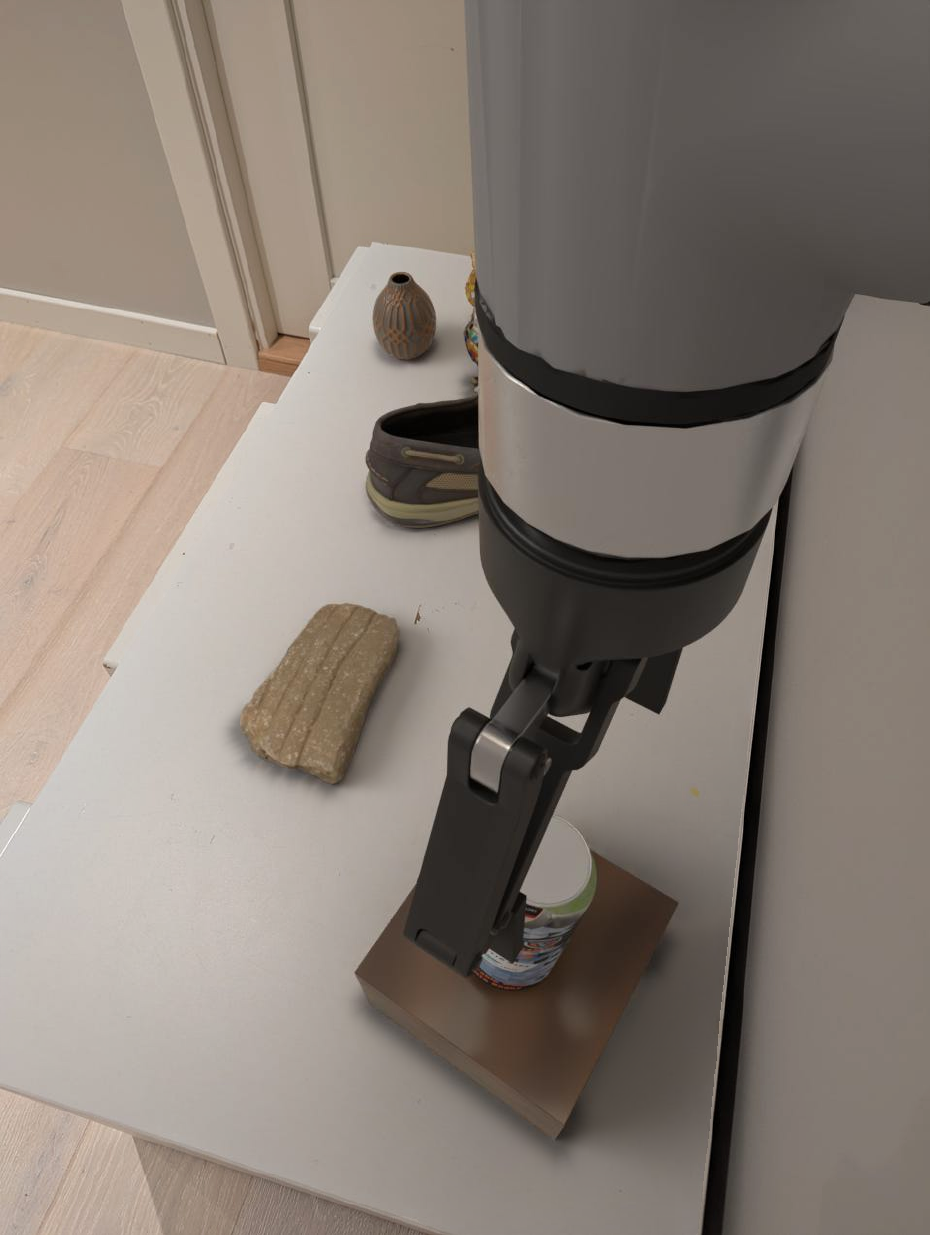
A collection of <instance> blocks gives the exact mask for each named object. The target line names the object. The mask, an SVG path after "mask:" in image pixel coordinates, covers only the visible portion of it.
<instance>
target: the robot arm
mask: <svg viewBox="0 0 930 1235" xmlns="http://www.w3.org/2000/svg"><path fill="white" fill-rule="evenodd" d="M463 3H464V4H463V6H464V27H465V28H464V30H465V50H466V51H465V52H466V54H465V55H466V74H467V75H466V76H467V77H466V78H467V97H468V99H467V100H468V123H469V146H470V147H469V148H470V168H471V169H470V170H471V191H472V192H471V193H472V215H473V216H472V218H473V239H474V243H473V244H474V251H475V266H476V280H475V287H474V291H475V308H474V307H473V309H474V318H475V325H476V326H478V366H477V369H478V370H477V374H478V375H477V377H478V400H479V450H480V454H481V459H480V464H479V469H478V501H479V513H478V535H479V536H478V538H479V540H478V541H479V557H480V563H481V568H482V571H483V574H484V577H485V580H486V582H487V584H488V587H489V588H490V591H491V593H492V594H493V596H494V597H495V599H496V600H497V602H498V604H499V605H500V607H501V609H502V610H503V612H504V613H505V615H506V616H507V618H508V620H509V621H510V623H511V625H512V626H513V632H512V634H511V638H510V646H511V651H512V655H511V658H510V661H509V664H508V665H507V669H506V671H505V673H504V676H503V678H502V681H501V683H500V686H499V689H498V691H497V694H496V695H495V696H496V697H495V700H493V704H492V706H491V709H490V713H489V717H488V716H487V715H485V714H483V713H481V712H480V711H477V710H476V709H474V708H472V707H470V706H469V707H467V708H465V709H463V710H462V711H461V712H460V713H459V715H458V716H457V717H456V718H455V719H454V721H453V722H452V724H451V726H450V732H449V734H448V738H447V751H446V752H447V754H446V776H445V780H444V784H443V786H442V791H441V795H440V798H439V801H438V805H437V808H436V812H435V816H434V820H433V824H432V828H431V831H430V835H429V837H428V842H427V845H426V849H425V853H424V856H423V860H422V865H421V868H420V871H419V874H418V877H417V880H416V883H417V885H416V884H415V885H416V888H415V892H414V896H413V899H412V903H411V907H410V910H409V914H408V917H407V921H406V924H405V928H404V932H403V937H404V938H405V939H407V940H408V941H410V942H411V943H413V944H414V945H416V946H417V947H419V948H420V949H422V950H423V951H425V952H426V953H427V954H429V955H430V956H432V957H433V958H435V959H436V960H438V961H439V962H441V963H442V964H444V965H445V966H447V967H448V968H450V969H451V970H453V971H454V972H456V973H457V974H459V975H460V976H462V977H463V978H465V979H466V978H468V977H470V976H471V975H472V974H473V972H474V971H476V970H477V969H478V968H479V966H480V964H481V962H482V960H483V957H482V955H483V954H486V953H487V951H488V950H489V949H491V950H492V951H494V952H495V953H497V954H498V955H500V956H501V957H503V958H504V959H506V960H507V961H509V962H510V963H512V964H513V963H514V962H515V960H516V958H517V957H518V955H519V953H520V951H521V950H522V948H523V936H524V924H525V912H526V900H527V895H525V894H523V893H522V892H520V889H521V887H522V885H523V882H524V880H525V878H526V876H527V873H528V871H529V869H530V866H531V864H532V862H533V859H534V857H535V855H536V853H537V850H538V848H539V846H540V843H541V841H542V839H543V836H544V834H545V832H546V830H547V827H548V825H549V823H550V820H551V818H552V816H553V814H554V813H555V812H556V809H557V807H558V804H559V802H560V800H561V797H562V795H563V792H564V790H565V788H566V786H567V784H568V781H569V779H570V776H571V774H572V773H573V771H579V770H580V769H582V768H583V767H585V766H586V765H587V764H588V763H589V762H590V761H591V760H592V759H593V758H594V757H595V756H596V755H597V753H598V752H599V750H600V748H601V745H602V743H603V741H604V738H605V736H606V734H607V732H608V730H609V727H610V726H611V723H612V720H613V718H614V716H615V714H616V711H617V709H618V707H619V704H620V703H621V700H623V699H624V698H625V699H626V700H629V701H631V702H633V703H635V704H636V705H638V706H641V707H643V708H644V709H647V710H649V711H651V712H653V713H654V714H657V715H661V713H662V710H664V707H665V706H666V704H667V701H668V697H669V694H670V691H671V688H672V684H673V681H674V678H675V675H676V672H677V668H678V666H679V662H680V659H681V656H682V652H683V649H684V648H685V647H687V646H690V645H692V644H694V643H695V642H697V641H699V640H701V639H703V637H705V636H707V635H709V634H710V633H711V632H712V631H713V630H715V629H716V628H717V627H718V626H720V624H722V623H723V621H725V619H726V618H727V617H728V616H729V615H730V614H731V612H732V611H733V609H734V608H735V607H736V604H737V603H739V600H740V598H741V596H742V594H743V592H744V590H745V586H746V584H747V581H748V579H749V576H750V573H751V571H752V567H753V565H754V562H755V560H756V557H757V554H758V552H759V550H760V547H761V544H762V542H763V538H764V536H765V533H766V531H767V529H768V525H769V523H770V520H771V516H772V512H773V509H774V507H775V506H776V504H777V503H778V501H779V499H780V496H781V494H782V492H783V490H784V488H785V486H786V484H787V482H788V479H789V476H790V474H791V471H792V469H793V467H794V464H795V460H796V459H797V455H798V453H799V450H800V448H801V445H802V442H803V439H804V437H805V434H806V432H807V429H808V427H809V423H810V421H811V418H812V415H813V413H814V410H815V409H816V408H815V407H816V405H817V402H818V400H819V398H820V394H821V391H822V389H823V386H824V384H825V381H826V378H827V376H828V373H829V370H830V368H831V365H832V362H833V358H834V352H835V351H834V350H835V345H836V341H837V338H838V336H839V333H840V330H841V327H842V325H843V322H844V319H845V317H846V313H847V312H848V309H849V308H850V305H851V304H852V301H853V299H854V298H855V296H856V295H858V296H859V295H860V296H866V297H871V298H875V299H882V300H889V301H896V302H905V303H914V304H919V305H920V306H925V307H930V0H463ZM586 714H588V716H587V718H586V719H585V720H586V721H585V723H584V725H583V728H582V730H581V732H578V731H577V730H575V729H573V728H571V727H570V726H567V725H565V724H564V723H561V722H560V721H558V720H556V719H554V718H553V717H555V718H565V717H572V716H573V717H575V716H579V715H586ZM549 715H550V716H549ZM551 716H552V717H551Z"/></svg>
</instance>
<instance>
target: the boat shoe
mask: <svg viewBox="0 0 930 1235" xmlns="http://www.w3.org/2000/svg"><path fill="white" fill-rule="evenodd" d="M371 436H372V437H371V440H370V442H369V448H368V450H367V451H366V453H365V457H364V458H365V465H366V467H367V469H368V470H369V471H368V473H367V475H366V480H365V492H366V495H367V498H368V500H369V502H370V504H371V505H372V507H373V509H374V510H375V511H376V512H377V513H378V514H379V515H380V517H382V518H384V520H386V521H388V522H389V523H391V524H392V525H395V526H397V527H398V526H399V527H403V528H409V529H410V528H411V529H422V528H424V529H425V528H430V527H431V528H432V527H437V526H442V525H446V524H447V525H448V524H451V523H453V522H457V521H460V520H463V519H465V518H468V517H472V516H474V515H477V514H478V515H479V501H478V469H479V464H480V459H481V454H480V450H479V400H478V394H477V395H472V396H467V397H464V398H459V399H452V400H451V399H449V400H439V401H435V402H434V401H433V402H418V403H416V404H413V405H412V404H411V405H408V406H403V407H400V408H396V409H393V410H391V411H387V412H386V413H384V414H382V415H380V417H378V418H377V420H376V421H375V423H374V426H373V429H372V435H371Z"/></svg>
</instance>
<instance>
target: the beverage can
mask: <svg viewBox="0 0 930 1235" xmlns="http://www.w3.org/2000/svg"><path fill="white" fill-rule="evenodd" d="M590 850H591V849H590V847H589V845H588V842H587V841H586V839H585V837H584V836H583V834H582V833H581V832H580V831H579V830H578V828H576V826H574V825H573V824H572V823H571V822H569V821H568V820H566V819H565V818H563V817H561V816H560V815H559V816H558V815H556V814H554V813H553V816H552V818H551V820H550V823H549V825H548V827H547V830H546V832H545V834H544V836H543V839H542V841H541V843H540V846H539V848H538V850H537V853H536V855H535V857H534V859H533V862H532V864H531V866H530V869H529V871H528V873H527V876H526V878H525V880H524V882H523V885H522V887H521V889H520V892H522V893H523V894H525V895H527V900H526V912H525V924H524V936H523V948H522V950H521V951H520V953H519V955H518V957H517V958H516V960H515V962H514V963H513V964H512V963H510V962H509V961H507V960H506V959H504V958H503V957H501V956H500V955H498V954H497V953H495V952H494V951H492V950H491V949H489V950H488V951H487V953H486V954H483V955H482V957H483V960H482V962H481V964H480V966H479V968H478V969H477V970H476V971H474V972H473V974H474V975H475V976H476V977H477V978H478V979H480V980H481V981H483V982H484V983H485V984H487V985H489V986H492V987H494V988H497V989H500V990H505V991H520V990H525V989H528V988H531V987H533V986H535V985H537V984H539V983H540V982H541V981H543V980H544V979H545V978H546V977H547V976H548V975H549V974H550V973H551V971H552V970H553V968H554V966H555V965H556V963H557V961H558V959H559V958H560V956H561V954H562V952H563V951H564V949H565V947H566V945H567V944H568V942H569V940H570V938H571V937H572V935H573V933H574V931H575V929H576V928H577V926H578V924H579V922H580V921H581V919H582V917H583V915H584V914H585V912H586V910H587V908H588V907H589V905H590V903H591V901H592V899H593V896H594V893H595V890H596V883H597V873H596V866H595V862H594V858H593V856H592V853H591V851H590Z"/></svg>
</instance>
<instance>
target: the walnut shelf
mask: <svg viewBox="0 0 930 1235" xmlns="http://www.w3.org/2000/svg"><path fill="white" fill-rule="evenodd" d="M590 851H591V853H592V856H593V858H594V862H595V866H596V873H597V883H596V890H595V893H594V896H593V899H592V901H591V903H590V905H589V907H588V908H587V910H586V912H585V914H584V915H583V917H582V919H581V921H580V922H579V924H578V926H577V928H576V929H575V931H574V933H573V935H572V937H571V938H570V940H569V942H568V944H567V945H566V947H565V949H564V951H563V952H562V954H561V956H560V958H559V959H558V961H557V963H556V965H555V966H554V968H553V970H552V971H551V973H550V974H549V975H548V976H547V977H546V978H545V979H544V980H543V981H541V982H540V983H539V984H537V985H535V986H533V987H531V988H528V989H525V990H520V991H505V990H500V989H497V988H494V987H492V986H489V985H487V984H485V983H484V982H483V981H481V980H480V979H478V978H477V977H476V976H475V975H474V974H472V975H471V976H470V977H468V978H466V979H465V978H463V977H462V976H460V975H459V974H457V973H456V972H454V971H453V970H451V969H450V968H448V967H447V966H445V965H444V964H442V963H441V962H439V961H438V960H436V959H435V958H433V957H432V956H430V955H429V954H427V953H426V952H425V951H423V950H422V949H420V948H419V947H417V946H416V945H414V944H413V943H411V942H410V941H408V940H407V939H405V938H404V937H403V932H404V928H405V924H406V921H407V917H408V914H409V910H410V907H411V903H412V899H413V896H414V892H415V888H416V885H417V882H416V884H415V885H414V886H413V888H412V889H411V890H410V892H409V893H408V895H407V896H406V897H405V899H404V900H403V901H402V903H401V905H400V906H399V907H398V909H397V910H396V912H395V913H394V915H393V916H392V918H391V919H390V921H389V922H388V923H387V925H386V926H385V927H384V929H383V930H382V932H381V933H380V935H379V937H378V938H377V939H376V941H375V943H373V945H372V946H371V947H370V949H369V950H368V952H367V953H366V955H365V956H364V958H363V959H362V960H361V962H360V964H359V965H358V966H357V968H356V969H355V970H354V975H355V978H356V979H357V982H358V983H359V984H360V985H359V986H360V987H361V989H362V991H363V993H364V995H365V997H366V999H367V1001H368V1004H369V1005H371V1006H372V1007H373V1008H375V1009H376V1010H377V1011H379V1012H380V1013H382V1014H383V1015H384V1016H385V1017H387V1018H388V1019H390V1020H391V1021H392V1022H393V1023H394V1024H396V1025H397V1026H399V1027H400V1028H402V1030H404V1031H405V1032H407V1033H408V1034H409V1035H411V1036H412V1037H414V1038H415V1039H416V1040H418V1041H419V1042H420V1043H421V1044H423V1045H424V1046H426V1047H427V1048H429V1049H430V1050H431V1051H433V1052H434V1053H435V1054H437V1055H438V1056H439V1057H440V1058H442V1059H444V1060H445V1061H446V1062H448V1063H449V1064H450V1065H451V1066H453V1067H455V1068H456V1069H457V1070H459V1071H460V1072H461V1073H462V1074H464V1075H465V1076H467V1077H468V1078H469V1079H470V1080H472V1081H473V1082H475V1083H476V1084H478V1085H479V1086H480V1087H482V1088H483V1089H484V1090H486V1091H487V1092H488V1093H490V1095H492V1096H494V1097H495V1098H496V1099H498V1100H499V1101H500V1102H502V1103H503V1104H504V1105H506V1106H507V1107H509V1108H510V1109H511V1110H513V1111H514V1112H515V1113H517V1114H518V1115H519V1116H521V1117H522V1118H523V1119H525V1120H526V1121H527V1122H528V1123H530V1124H532V1125H533V1126H534V1127H535V1128H537V1129H538V1130H539V1131H541V1132H543V1134H544V1135H547V1136H548V1137H549V1138H550V1139H552V1140H554V1141H556V1139H557V1137H558V1136H559V1135H560V1133H561V1131H562V1130H563V1129H564V1127H565V1126H566V1124H567V1122H568V1120H569V1118H570V1116H571V1114H572V1112H573V1110H574V1108H575V1106H576V1105H577V1103H578V1101H579V1098H580V1097H581V1094H582V1093H583V1090H584V1089H585V1087H586V1085H587V1083H588V1081H589V1080H590V1077H591V1075H592V1073H593V1071H594V1069H595V1067H596V1065H597V1064H598V1062H599V1060H600V1058H601V1056H602V1054H603V1052H604V1050H605V1048H606V1046H607V1045H608V1042H609V1040H610V1039H611V1036H612V1034H613V1032H614V1031H615V1028H616V1027H617V1025H618V1023H619V1022H620V1021H619V1020H620V1019H621V1017H622V1015H623V1013H624V1012H625V1009H626V1007H627V1005H628V1003H629V1001H630V1000H631V998H632V995H633V993H634V992H635V989H636V987H637V986H638V983H639V982H640V980H641V978H642V975H643V974H644V972H645V970H646V969H647V967H648V965H649V963H650V961H651V958H652V956H653V955H654V952H655V951H656V949H657V947H658V945H659V943H660V941H661V939H662V937H663V935H664V934H665V931H666V929H667V928H668V926H669V923H670V921H671V920H672V918H673V915H674V914H675V912H676V910H677V908H678V906H679V904H680V903H679V901H677V900H676V899H674V898H672V897H671V896H669V895H667V894H665V892H662V891H660V890H659V889H657V888H656V887H654V886H652V885H650V884H649V883H647V882H646V881H644V880H643V879H641V878H639V877H637V876H636V875H634V874H633V873H630V872H629V871H627V870H625V869H624V868H622V867H621V866H619V865H617V864H615V862H612V861H611V860H609V859H607V858H605V857H604V856H602V855H601V854H599V853H598V852H596V851H594V850H592V849H590Z"/></svg>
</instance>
